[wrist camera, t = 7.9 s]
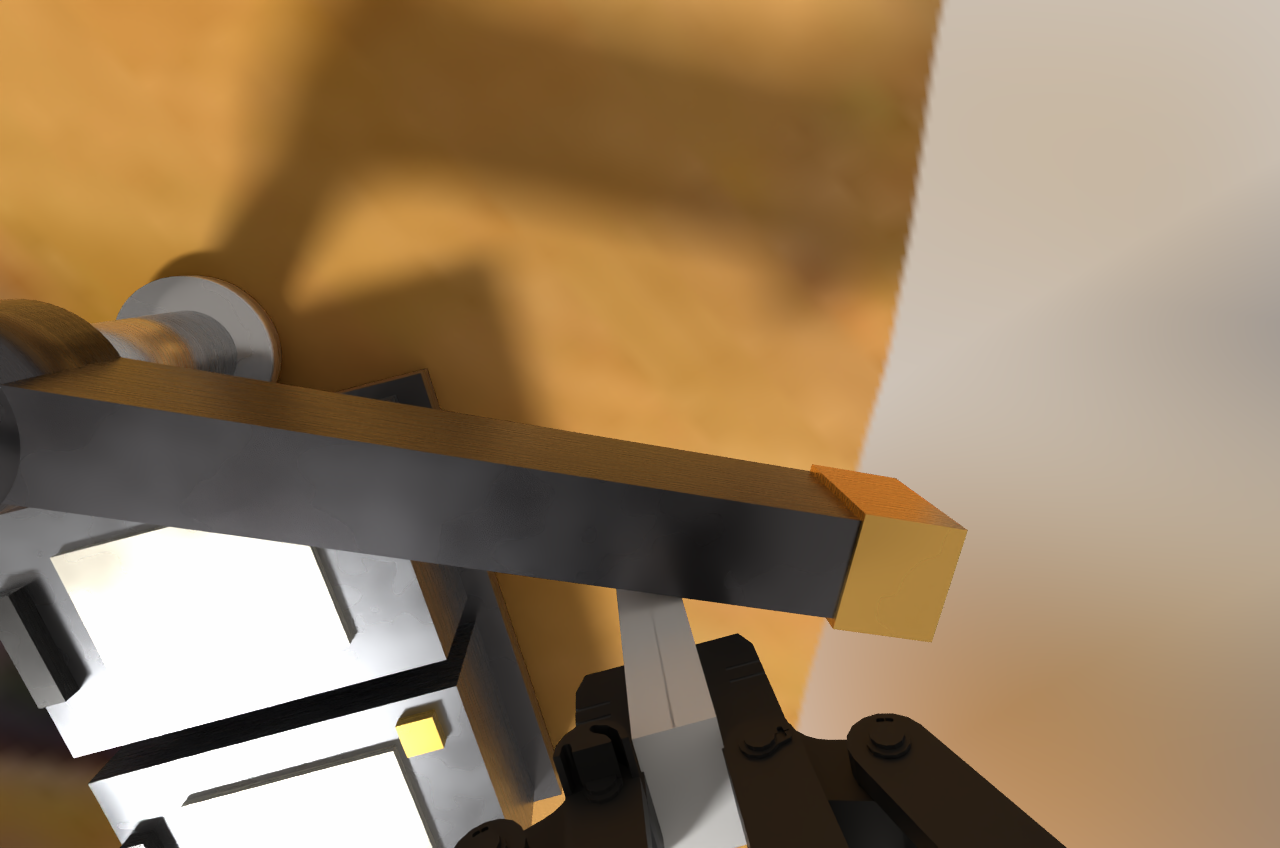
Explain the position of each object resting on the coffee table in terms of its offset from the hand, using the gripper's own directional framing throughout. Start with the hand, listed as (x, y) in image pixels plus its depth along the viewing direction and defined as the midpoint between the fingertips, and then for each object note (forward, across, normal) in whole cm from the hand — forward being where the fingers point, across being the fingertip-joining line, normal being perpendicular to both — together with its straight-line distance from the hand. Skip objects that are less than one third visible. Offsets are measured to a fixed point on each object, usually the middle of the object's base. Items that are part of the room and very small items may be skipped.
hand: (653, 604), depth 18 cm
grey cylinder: (+8, -13, +9) cm, 18 cm away
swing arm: (+1, -4, +5) cm, 7 cm away
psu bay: (+8, -13, -2) cm, 16 cm away
